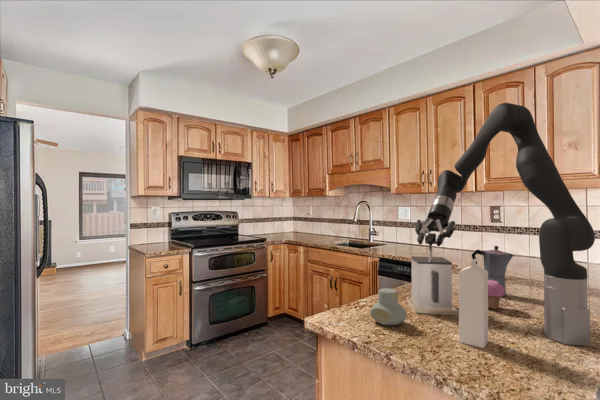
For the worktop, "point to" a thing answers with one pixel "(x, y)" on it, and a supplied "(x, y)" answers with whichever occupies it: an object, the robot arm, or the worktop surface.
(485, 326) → the milk
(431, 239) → the joystick lever
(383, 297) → the air freshener
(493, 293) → the cupcake
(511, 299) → the worktop surface
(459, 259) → the worktop surface
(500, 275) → the moka pot
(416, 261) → the arcade joystick
